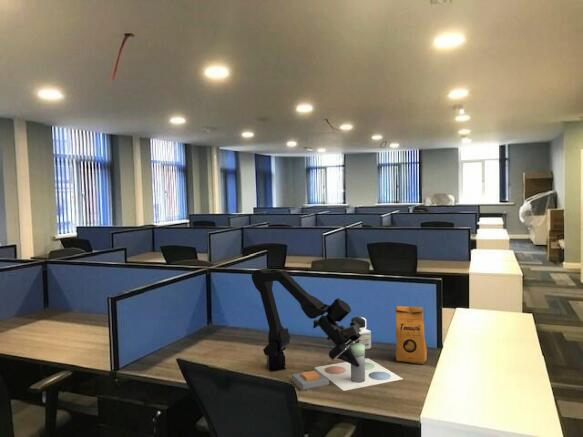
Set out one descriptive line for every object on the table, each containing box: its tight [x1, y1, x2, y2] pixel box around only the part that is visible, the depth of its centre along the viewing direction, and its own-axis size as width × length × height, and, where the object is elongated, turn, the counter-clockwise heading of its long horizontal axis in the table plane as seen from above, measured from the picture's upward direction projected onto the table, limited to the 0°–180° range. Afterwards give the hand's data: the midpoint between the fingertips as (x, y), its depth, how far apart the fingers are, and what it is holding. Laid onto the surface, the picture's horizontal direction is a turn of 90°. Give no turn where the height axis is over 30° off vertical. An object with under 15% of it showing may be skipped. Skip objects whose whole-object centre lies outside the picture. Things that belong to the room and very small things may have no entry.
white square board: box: [314, 357, 404, 392], centre depth 177 cm, size 24×24×1 cm
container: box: [350, 316, 372, 350], centre depth 209 cm, size 8×8×13 cm
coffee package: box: [395, 305, 428, 365], centre depth 190 cm, size 10×12×22 cm
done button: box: [300, 370, 320, 381], centre depth 170 cm, size 5×5×2 cm
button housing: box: [291, 369, 330, 392], centre depth 170 cm, size 10×10×2 cm
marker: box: [350, 343, 366, 383], centre depth 170 cm, size 5×5×12 cm
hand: (361, 363), depth 169 cm, fingers closed on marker, 5 cm apart
